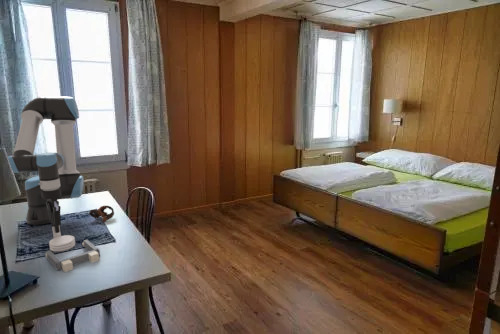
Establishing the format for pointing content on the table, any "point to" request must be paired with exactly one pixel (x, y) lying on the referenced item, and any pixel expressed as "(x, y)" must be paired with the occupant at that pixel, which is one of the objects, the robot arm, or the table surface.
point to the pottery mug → (102, 213)
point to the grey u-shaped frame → (75, 257)
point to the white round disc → (62, 243)
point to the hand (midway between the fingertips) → (57, 238)
